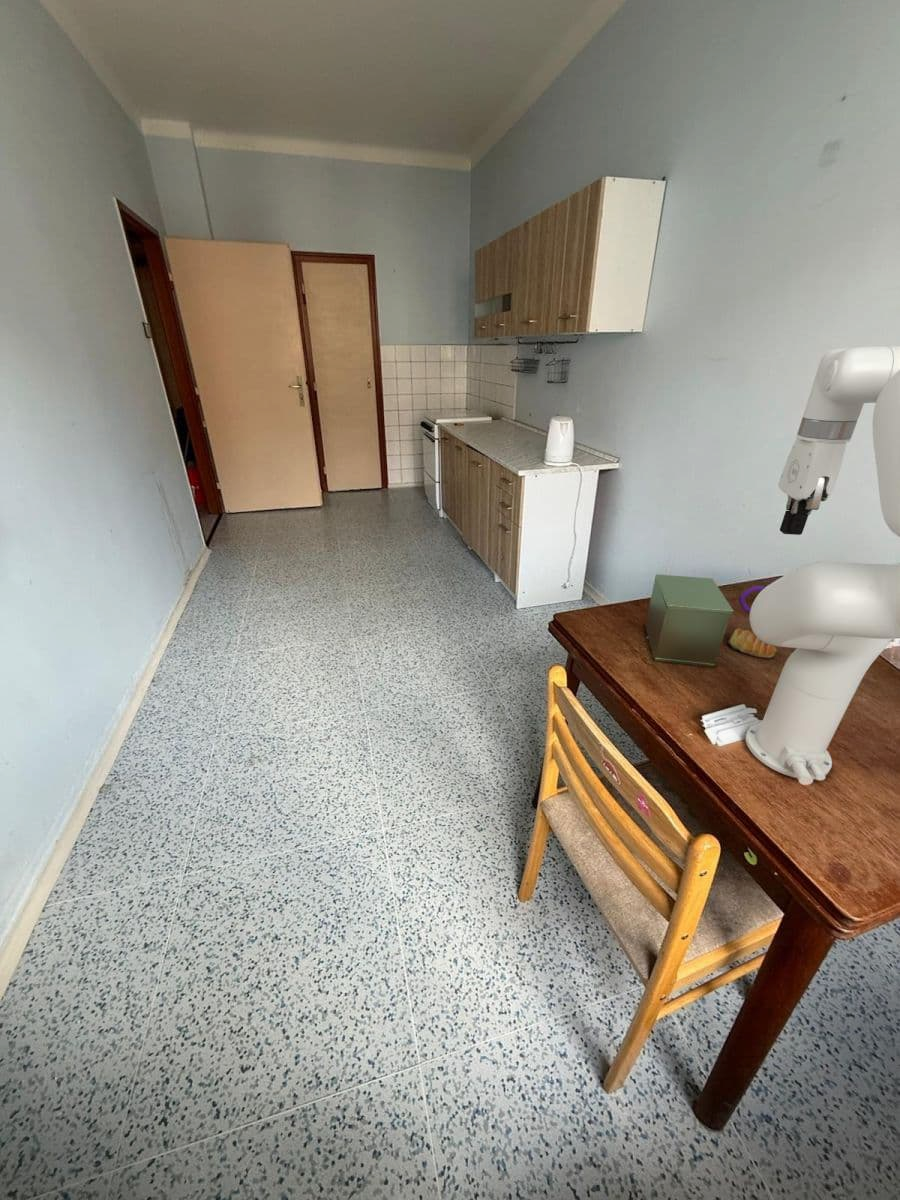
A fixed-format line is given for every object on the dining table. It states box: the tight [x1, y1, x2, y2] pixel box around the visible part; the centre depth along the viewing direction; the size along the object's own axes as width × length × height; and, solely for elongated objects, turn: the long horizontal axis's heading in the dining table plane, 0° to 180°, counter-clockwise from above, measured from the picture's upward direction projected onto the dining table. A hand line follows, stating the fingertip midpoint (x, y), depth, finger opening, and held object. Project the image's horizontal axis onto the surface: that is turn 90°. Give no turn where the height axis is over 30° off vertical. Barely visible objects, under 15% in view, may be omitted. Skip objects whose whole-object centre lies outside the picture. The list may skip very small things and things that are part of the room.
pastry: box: [727, 627, 778, 659], centre depth 110 cm, size 9×7×4 cm
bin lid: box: [655, 573, 734, 615], centre depth 106 cm, size 16×13×1 cm
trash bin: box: [644, 577, 731, 668], centre depth 110 cm, size 16×13×14 cm
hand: (790, 532), depth 88 cm, fingers closed
